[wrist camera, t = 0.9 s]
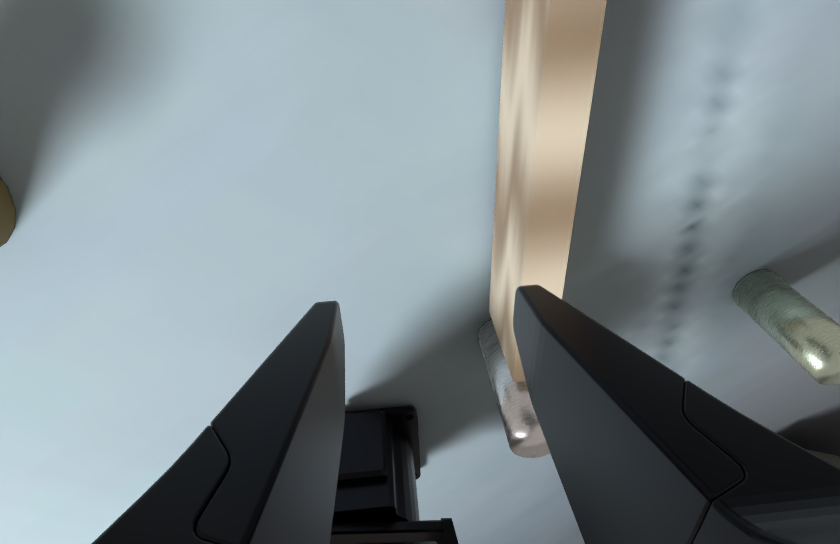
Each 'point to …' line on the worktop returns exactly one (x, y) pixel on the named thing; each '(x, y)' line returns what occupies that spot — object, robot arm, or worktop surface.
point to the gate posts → (755, 294)
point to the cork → (6, 214)
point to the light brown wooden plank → (540, 149)
